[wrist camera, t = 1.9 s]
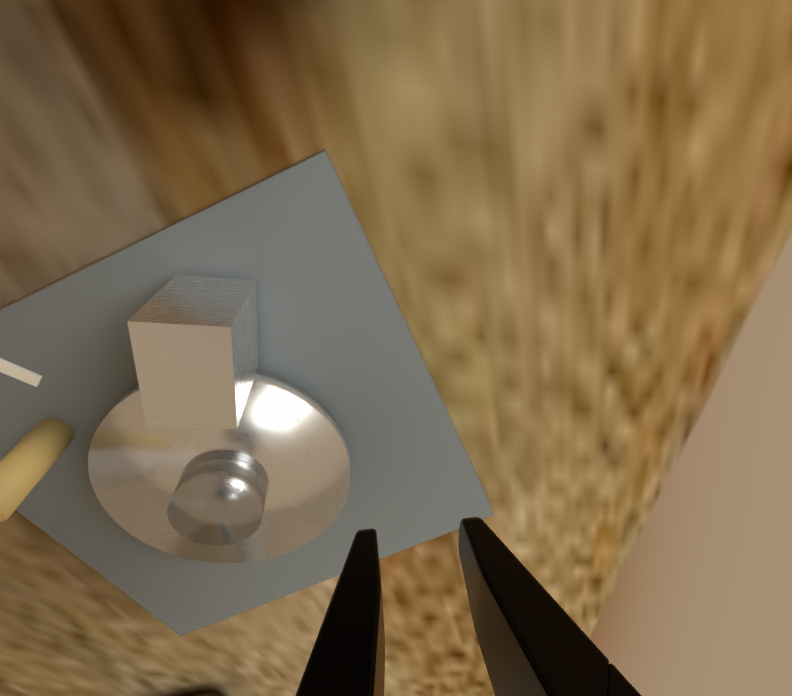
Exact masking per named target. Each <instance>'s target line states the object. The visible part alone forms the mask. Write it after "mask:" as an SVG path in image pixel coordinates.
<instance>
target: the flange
mask: <svg viewBox="0 0 792 696" xmlns="http://www.w3.org/2000/svg"><path fill="white" fill-rule="evenodd" d="M127 323H128V329H129V334H130V340H131V345H132V351H133V356H134V362H135V367H136V373H137V378H138V385H137V386H135V387H134V388H133V389H131V390H130V391H129V392H127V393H126V394H125V395H124V396H123V397H122V398H121V399H120V400H119V401H118V402H117V403H116V404H115V405H114V406H113V408H112V409H111V410H110V412H109V413H108V414H107V415H106V417H105V418H104V419H103V421H102V422H101V424H100V425H99V427H98V428H97V430H96V432H95V434H94V436H93V439H92V441H91V444H90V449H89V454H88V472H89V478H90V482H91V485H92V488H93V490H94V493H95V495H96V497H97V498H98V500H99V502H100V504H101V505H102V507H103V508H104V509H105V511H106V512H107V513H108V514H109V516H110V517H111V518H112V519H113V520H114V521H115V522H116V523H117V524H118V525H119V526H121V527H122V528H123V529H125V530H126V531H127V532H128V533H130V534H131V535H132V536H134V537H136V538H137V539H139V540H141V541H142V542H144V543H146V544H148V545H150V546H152V547H154V548H156V549H159V550H161V551H164V552H167V553H169V554H172V555H176V556H179V557H183V558H187V559H192V560H197V561H203V562H213V563H244V562H253V561H259V560H265V559H269V558H273V557H277V556H280V555H282V554H285V553H288V552H291V551H293V550H295V549H297V548H299V547H302V546H303V545H305V544H307V543H308V542H310V541H312V540H313V539H315V538H316V537H317V536H319V535H320V534H321V533H323V532H324V531H325V530H326V529H327V528H328V527H329V526H330V525H331V524H332V523H333V521H334V520H335V519H336V517H337V516H338V515H339V513H340V511H341V510H342V508H343V506H344V504H345V501H346V499H347V496H348V493H349V487H350V475H351V470H350V453H349V447H348V443H347V440H346V437H345V434H344V432H343V430H342V428H341V427H340V425H339V423H338V421H337V420H336V419H335V417H334V416H333V415H332V413H331V412H330V411H329V410H328V409H327V408H326V407H325V406H324V405H323V404H322V403H321V402H320V401H319V400H318V399H317V398H316V397H314V396H313V395H312V394H311V393H309V392H308V391H307V390H305V389H303V388H302V387H300V386H298V385H297V384H295V383H293V382H291V381H289V380H287V379H285V378H282V377H280V376H278V375H275V374H272V373H269V372H266V371H263V370H260V369H257V368H258V343H257V312H256V280H249V279H236V278H222V277H208V276H194V275H181V274H176V275H175V276H174V277H173V278H172V279H171V280H170V281H169V282H168V283H167V284H166V285H165V286H164V287H163V288H162V289H160V290H159V291H158V292H157V293H156V294H155V295H154V296H153V297H152V298H151V299H150V300H149V301H148V302H147V303H146V304H145V305H144V306H143V307H142V308H141V309H140V310H139V311H137V312H136V313H135V314H134V315H133V316H132V317H131V318H130V319H129V320H128V321H127Z"/></svg>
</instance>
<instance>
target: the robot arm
mask: <svg viewBox="0 0 792 696" xmlns="http://www.w3.org/2000/svg"><path fill="white" fill-rule="evenodd" d="M459 554H460V559H461V564H462V569H463V574H464V579H465V584H466V589H467V594H468V599H469V604H470V609H471V614H472V619H473V623H474V627H475V631H476V635H477V638H478V642H479V645H480V648H481V652H482V655H483V658H484V661H485V664H486V668H487V671H488V674H489V677H490V680H491V684H492V687H493V690H494V693H495V696H641V695H640V694H639V693H638V692H637V691H636V689H635V688H634V687H633V686H632V685H631V684H630V683H629V682H628V681H627V680H626V678H624V676H623V675H622V674H621V673H620V672H619V671H618V670H617V668H616V667H615V666H614V665H613V664H609V660H608V659H607V658H606V657H605V656H604V654H603V653H602V652H601V651H600V650H599V649H598V648H597V647H596V646H595V644H594V643H593V642H592V641H591V640H590V639H589V638H588V636H587V635H586V634H585V633H584V632H583V631H582V630H581V629H580V628H579V626H578V625H577V624H576V623H575V622H574V621H573V620H572V619H571V618H570V617H569V615H568V614H567V613H566V612H565V611H564V610H563V609H562V608H561V607H560V605H559V604H558V603H557V602H556V601H555V600H554V599H553V598H552V597H551V595H550V594H549V593H548V592H547V591H546V590H545V589H544V588H543V587H542V585H541V584H540V583H539V582H538V581H537V580H536V579H535V578H534V577H533V575H532V574H531V573H530V572H529V571H528V570H527V569H526V568H525V567H524V566H523V564H522V563H521V562H520V561H519V560H518V559H517V558H516V557H515V556H514V554H513V553H512V552H511V551H510V550H509V549H508V548H507V547H506V546H505V544H504V543H503V542H502V541H501V540H500V539H499V538H498V537H497V536H496V534H495V533H494V532H493V531H492V530H491V529H490V528H489V527H488V526H487V525H486V523H485V522H484V521H483V520H482V519H481V518H479V517H470V518H463V519H461V521H460V529H459ZM384 672H385V634H384V618H383V603H382V588H381V574H380V563H379V552H378V541H377V531H376V530H375V529H373V528H371V529H362V530H358V531H357V532H356V534H355V537H354V539H353V542H352V545H351V547H350V550H349V553H348V556H347V558H346V561H345V564H344V566H343V569H342V572H341V574H340V577H339V580H338V582H337V585H336V588H335V591H334V593H333V596H332V599H331V601H330V604H329V607H328V609H327V612H326V615H325V618H324V620H323V623H322V626H321V628H320V631H319V634H318V636H317V639H316V642H315V645H314V647H313V650H312V653H311V655H310V658H309V661H308V663H307V666H306V669H305V672H304V674H303V677H302V680H301V682H300V685H299V688H298V690H297V693H296V696H384Z"/></svg>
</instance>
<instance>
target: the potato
mask: <svg viewBox="0 0 792 696" xmlns="http://www.w3.org/2000/svg"><path fill="white" fill-rule="evenodd" d="M196 696H223V695H222V694H219V692H207V693H200V694H198V695H196Z"/></svg>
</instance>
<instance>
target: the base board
mask: <svg viewBox="0 0 792 696" xmlns="http://www.w3.org/2000/svg"><path fill="white" fill-rule="evenodd" d="M176 274H181V275H194V276H208V277H222V278H236V279H249V280H256V312H257V343H258V368H257V369H260V370H263V371H266V372H269V373H272V374H275V375H278V376H280V377H282V378H285V379H287V380H289V381H291V382H293V383H295V384H297V385H298V386H300V387H302V388H303V389H305V390H307V391H308V392H309V393H311V394H312V395H313V396H314V397H316V398H317V399H318V400H319V401H320V402H321V403H322V404H323V405H324V406H325V407H326V408H327V409H328V410H329V411H330V412H331V413H332V415H333V416H334V417H335V419H336V420H337V421H338V423H339V425H340V427H341V428H342V430H343V432H344V434H345V437H346V440H347V443H348V447H349V453H350V470H351V475H350V487H349V493H348V496H347V499H346V501H345V504H344V506H343V508H342V510H341V511H340V513H339V515H338V516H337V517H336V519H335V520H334V521H333V523H332V524H331V525H330V526H329V527H328V528H327V529H326V530H325V531H324V532H323V533H321V534H320V535H319V536H317V537H316V538H315V539H313V540H312V541H310V542H308V543H307V544H305V545H303V546H302V547H299V548H297V549H295V550H293V551H291V552H288V553H285V554H282V555H280V556H277V557H273V558H269V559H265V560H259V561H253V562H244V563H213V562H203V561H197V560H192V559H187V558H183V557H179V556H176V555H172V554H169V553H167V552H164V551H161V550H159V549H156V548H154V547H152V546H150V545H148V544H146V543H144V542H142V541H141V540H139V539H137V538H136V537H134V536H132V535H131V534H130V533H128V532H127V531H126V530H125V529H123V528H122V527H121V526H119V525H118V524H117V523H116V522H115V521H114V520H113V519H112V518H111V517H110V516H109V514H108V513H107V512H106V511H105V509H104V508H103V507H102V505H101V504H100V502H99V500H98V498H97V497H96V495H95V493H94V490H93V488H92V485H91V482H90V478H89V472H88V454H89V449H90V444H91V441H92V439H93V436H94V434H95V432H96V430H97V428H98V427H99V425H100V424H101V422H102V421H103V419H104V418H105V417H106V415H107V414H108V413H109V412H110V410H111V409H112V408H113V406H114V405H115V404H116V403H117V402H118V401H119V400H120V399H121V398H122V397H123V396H124V395H125V394H126V393H127V392H129V391H130V390H131V389H133V388H134V387H135V386H137V385H138V378H137V373H136V367H135V362H134V356H133V351H132V345H131V340H130V334H129V329H128V323H127V321H128V320H129V319H130V318H131V317H132V316H133V315H134V314H135V313H136V312H137V311H139V310H140V309H141V308H142V307H143V306H144V305H145V304H146V303H147V302H148V301H149V300H150V299H151V298H152V297H153V296H154V295H155V294H156V293H157V292H158V291H159V290H160V289H162V288H163V287H164V286H165V285H166V284H167V283H168V282H169V281H170V280H171V279H172V278H173V277H174V276H175V275H176ZM15 510H16V511H17V512H19V513H20V514H21V515H23V516H24V517H25V518H27V519H28V520H29V521H31V522H32V523H33V524H34V525H36V526H37V527H38V528H40V529H41V530H42V531H44V532H45V533H46V534H48V535H49V536H50V537H52V538H53V539H54V540H55V541H57V542H58V543H59V544H61V545H62V546H63V547H65V548H66V549H67V550H69V551H70V552H71V553H72V554H74V555H75V556H76V557H78V558H79V559H80V560H82V561H83V562H84V563H86V564H87V565H88V566H90V567H91V568H92V569H93V570H95V571H96V572H97V573H99V574H100V575H101V576H103V577H104V578H105V579H107V580H108V581H109V582H111V583H112V584H113V585H114V586H116V587H117V588H118V589H120V590H121V591H122V592H124V593H125V594H126V595H128V596H129V597H130V598H131V599H133V600H134V601H135V602H137V603H138V604H139V605H141V606H142V607H143V608H145V609H146V610H147V611H149V612H150V613H151V614H152V615H154V616H155V617H156V618H158V619H159V620H160V621H162V622H163V623H164V624H166V625H167V626H168V627H169V628H171V629H172V630H173V631H175V632H176V633H177V634H179V635H180V636H182V635H185V634H187V633H190V632H192V631H195V630H198V629H200V628H203V627H205V626H208V625H211V624H213V623H216V622H218V621H221V620H224V619H226V618H229V617H231V616H234V615H236V614H239V613H242V612H244V611H247V610H249V609H252V608H255V607H257V606H260V605H262V604H265V603H268V602H270V601H273V600H275V599H278V598H280V597H283V596H286V595H288V594H291V593H293V592H296V591H299V590H301V589H304V588H306V587H309V586H312V585H314V584H317V583H319V582H322V581H324V580H327V579H330V578H332V577H335V576H337V575H340V574H341V572H342V569H343V566H344V564H345V561H346V558H347V556H348V553H349V550H350V547H351V545H352V542H353V539H354V537H355V534H356V532H357V531H358V530H362V529H371V528H373V529H375V530H376V531H377V541H378V552H379V559H381V558H384V557H387V556H389V555H392V554H394V553H397V552H400V551H402V550H405V549H407V548H410V547H412V546H415V545H418V544H420V543H423V542H425V541H428V540H431V539H433V538H436V537H438V536H441V535H444V534H446V533H449V532H451V531H454V530H456V529H459V528H460V521H461V519H463V518H470V517H479V518H481V519H485V518H488V517H490V516H493V515H494V513H493V510H492V508H491V505H490V502H489V500H488V497H487V495H486V493H485V491H484V488H483V486H482V484H481V482H480V480H479V478H478V476H477V473H476V471H475V469H474V467H473V465H472V463H471V461H470V458H469V456H468V454H467V452H466V450H465V448H464V445H463V443H462V441H461V439H460V437H459V435H458V433H457V430H456V428H455V426H454V424H453V422H452V420H451V418H450V415H449V413H448V411H447V409H446V407H445V405H444V403H443V400H442V398H441V396H440V394H439V392H438V390H437V387H436V385H435V383H434V381H433V379H432V377H431V375H430V372H429V370H428V368H427V366H426V364H425V362H424V360H423V357H422V355H421V353H420V351H419V349H418V347H417V344H416V342H415V340H414V338H413V336H412V334H411V332H410V329H409V327H408V325H407V323H406V321H405V319H404V317H403V314H402V312H401V310H400V308H399V306H398V304H397V302H396V299H395V297H394V295H393V293H392V291H391V289H390V286H389V284H388V282H387V280H386V278H385V276H384V274H383V271H382V269H381V267H380V265H379V263H378V261H377V259H376V256H375V254H374V252H373V250H372V248H371V246H370V244H369V241H368V239H367V237H366V235H365V233H364V231H363V228H362V226H361V224H360V222H359V220H358V218H357V216H356V213H355V211H354V209H353V207H352V205H351V203H350V201H349V198H348V196H347V194H346V192H345V190H344V188H343V186H342V183H341V181H340V179H339V177H338V175H337V173H336V170H335V168H334V166H333V164H332V162H331V160H330V158H329V155H328V153H327V151H326V149H324V150H322V151H320V152H318V153H316V154H314V155H312V156H310V157H308V158H306V159H304V160H302V161H300V162H298V163H296V164H294V165H292V166H290V167H288V168H285V169H283V170H281V171H279V172H277V173H275V174H273V175H271V176H269V177H267V178H265V179H263V180H261V181H259V182H257V183H255V184H253V185H251V186H249V187H247V188H245V189H243V190H241V191H239V192H237V193H234V194H232V195H230V196H228V197H226V198H224V199H222V200H220V201H218V202H216V203H214V204H212V205H210V206H208V207H206V208H204V209H202V210H200V211H198V212H196V213H194V214H192V215H190V216H188V217H185V218H183V219H181V220H179V221H177V222H175V223H173V224H171V225H169V226H167V227H165V228H163V229H161V230H159V231H157V232H155V233H153V234H151V235H149V236H147V237H145V238H143V239H141V240H139V241H137V242H134V243H132V244H130V245H128V246H126V247H124V248H122V249H120V250H118V251H116V252H114V253H112V254H110V255H108V256H106V257H104V258H102V259H100V260H98V261H96V262H94V263H92V264H90V265H88V266H86V267H83V268H81V269H79V270H77V271H75V272H73V273H71V274H69V275H67V276H65V277H63V278H61V279H59V280H57V281H55V282H53V283H51V284H49V285H47V286H45V287H43V288H41V289H39V290H37V291H35V292H32V293H30V294H28V295H26V296H24V297H22V298H20V299H18V300H16V301H14V302H12V303H10V304H8V305H6V306H4V307H2V308H0V522H3V521H5V520H7V519H8V518H9V517H10V516H11V514H12V513H13V512H14V511H15Z"/></svg>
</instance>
